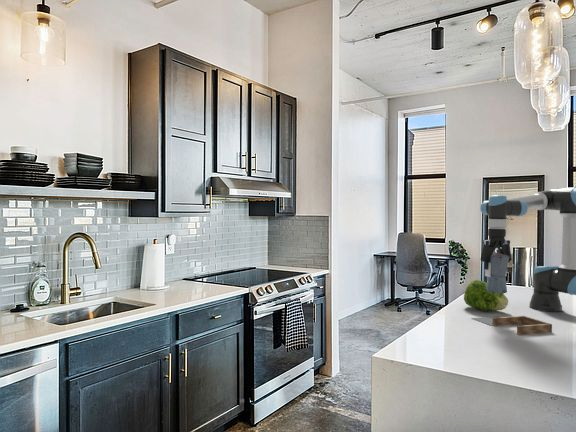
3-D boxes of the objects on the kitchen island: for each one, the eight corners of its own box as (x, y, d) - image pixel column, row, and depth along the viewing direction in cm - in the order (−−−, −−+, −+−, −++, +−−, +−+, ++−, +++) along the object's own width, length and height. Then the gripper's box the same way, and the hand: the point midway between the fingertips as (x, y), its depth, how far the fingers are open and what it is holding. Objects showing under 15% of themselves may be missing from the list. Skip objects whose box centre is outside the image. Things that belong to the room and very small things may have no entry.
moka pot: (489, 293, 195) (491, 249, 195) (480, 288, 210) (482, 247, 210) (511, 295, 193) (513, 251, 193) (501, 289, 208) (503, 248, 208)
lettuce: (498, 321, 212) (510, 293, 210) (457, 302, 223) (468, 275, 222) (502, 319, 225) (514, 293, 224) (463, 301, 237) (474, 276, 235)
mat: (498, 316, 210) (498, 316, 210) (518, 323, 198) (518, 322, 198) (470, 318, 205) (470, 318, 205) (490, 325, 193) (490, 325, 193)
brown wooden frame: (523, 323, 199) (523, 315, 199) (551, 332, 184) (552, 324, 184) (492, 325, 193) (492, 317, 193) (519, 335, 179) (519, 326, 179)
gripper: (508, 228, 208) (507, 274, 208) (472, 227, 201) (471, 275, 202) (521, 228, 200) (520, 276, 201) (484, 228, 194) (482, 278, 195)
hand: (495, 276), depth 201 cm, fingers closed on moka pot, 8 cm apart
